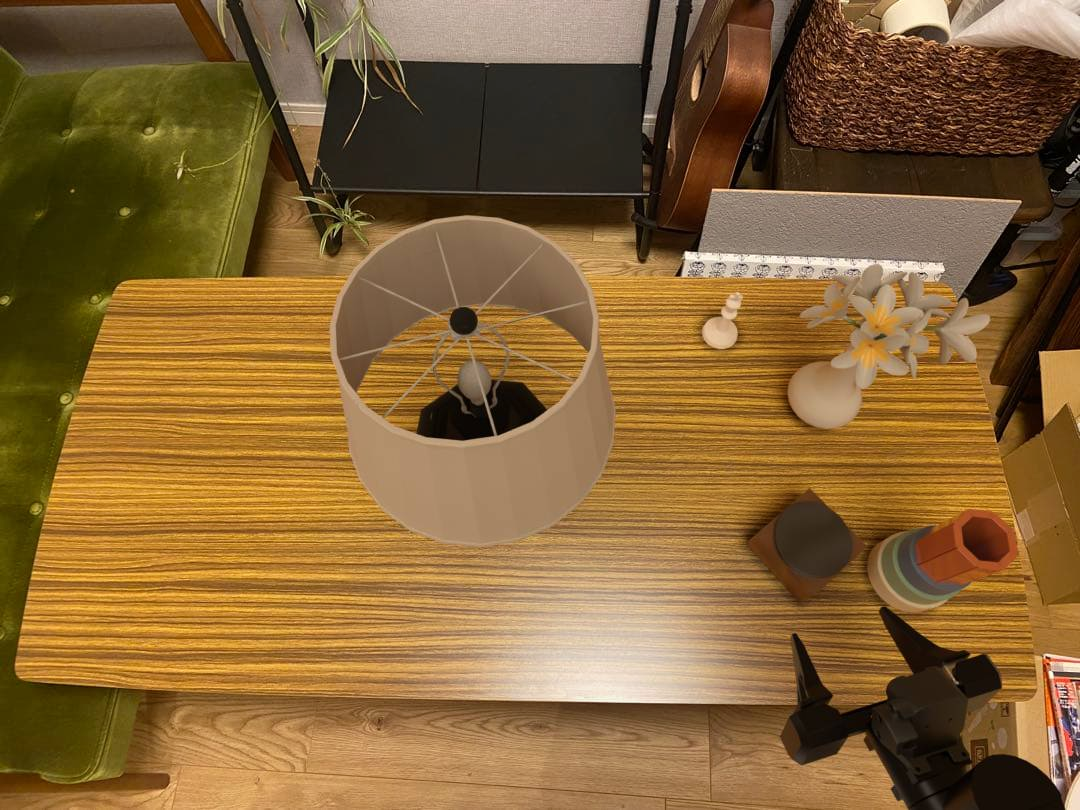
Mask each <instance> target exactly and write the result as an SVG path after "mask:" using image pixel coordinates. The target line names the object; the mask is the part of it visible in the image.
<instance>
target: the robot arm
mask: <svg viewBox="0 0 1080 810" xmlns="http://www.w3.org/2000/svg"><path fill="white" fill-rule="evenodd" d="M878 613H879V616H880V618H881V621H882V622H883V625H884V626H885V628H886V630H887V632H888V634H889V635H890V638H891V639H892V641H893V643H894V644H895V646H896V648H897V649H898V651H899V653H900V654H901V656H902V658H903V659H904V661H905V662H906V665H907V666H908V667H909V669H910V671H911V673H912V674H909V675H899V676H896V677H894V678H892V679H891V680H890V681H889V682H888V683H887V685H886V688H885V694H886V699H882V700H880V701H877V702H874V703H870V704H867V705H864V706H860V707H857V708H854V709H852V710H848V711H845V712H842V713H841V712H840V710H839V709H837V708H836V707H834V706H831V705H829V704H830V702H831V701H832V699H833V697H834V694H833V693H832V692H831V691H830V690H829V689H828V688H827V687H826V685H824V683H823V682H822V679H821V678H820V676H819V674H818V671H817V670H816V667H815V665H814V663H813V660H812V659H811V657H810V654H809V652H808V650H807V648H806V646H805V644H804V643H803V641H802V640H801V638H800V636H799V635H798V633H797V632H793V633H791V635H790V645H791V652H792V659H793V667H794V674H795V683H796V705H795V709H794V710H793V713H792V714H791V715H789V716H788V718H787V721H786V722H785V725H784V727H783V729H782V731H781V733H780V735H779V739H780V740H781V743H782V745H783V747H784V749H785V751H786V753H787V755H788V756H789V758H790V759H791V760H792V761H793V762H795V763H797V764H798V765H799V766H801V767H802V766H805V765H808V764H811V763H815V762H817V761H821V760H823V759H826V758H830V757H832V756H836V755H838V753H839V752H840V751H841V749H842V748H843V746H844V745H845V743H846V741H847V740H848V739H849V738H852V737H854V736H858V735H861V734H864V733H865V737H864V738H863V742H864V744H865V746H866V748H867V750H868V751H869V752H872V751H875V752H876V755H877V757H878V758H879V761H880V762H881V764H882V766H883V767H884V769H885V771H886V773H887V774H888V776H889V778H890V780H891V781H892V783H893V785H892V786H891V788H890V791H891V793H892V794H893V796H894V798H895V800H896V802H900V801H903V803H904V805H905V807H906V808H907V810H1066V805H1065V804H1064V800H1063V799H1062V797H1063V796H1062V795H1063V794H1062V793H1061V792H1060V789H1059V788H1058V786H1056V784H1055V783H1054V781H1052V779H1051V778H1050V777H1049V776H1048V775H1047V774H1046V773H1045V772H1044V771H1042V770H1041V769H1040V768H1039V767H1038V766H1036V765H1034V764H1033V763H1032V762H1029V761H1028V760H1026V759H1023V758H1021V757H1019V756H1016V755H1011V754H1006V753H997V754H991V755H988V756H986V757H984V758H983V759H981V760H980V761H978V762H977V763H976V764H975V765H974V766H973V767H971V768H970V766H972V765H973V764H974V762H973V760H972V759H971V757H970V756H971V755H970V753H969V751H968V749H967V748H966V746H965V745H964V742H963V739H962V735H961V733H962V732H963V731H964V729H965V726H966V719H967V713H971V712H973V711H976V710H979V709H981V708H984V707H985V706H986V705H987V704H988V703H989V702H990V701H991V700H992V699H994V697H995V696H996V695H997V694H998V693H999V692H1000V691H1001V690H1002V689H1003V678H1002V673H1001V670H1000V669H999V668H998V666H997V665H996V664H995V663H994V661H993V660H992V658H991V657H990V656H989V654H987V653H981V654H978V655H975V656H972V657H970V656H971V652H969V651H967V650H966V649H962V650H952V649H949V648H945V647H941V646H939V645H937V644H936V643H934V642H933V641H931V639H928V638H927V637H925V636H924V635H923V634H921V633H920V632H918V630H917V629H915V628H914V627H912V626H911V625H910V624H908V623H907V622H906V621H905V620H904V619H902V618H901V617H900V616H898V614H896V612H893V610H891V609H890V608H888V607H887V606H886V605H885V606H883V605H882V606H881V607H880V608H879V609H878ZM968 768H970V769H968Z"/></svg>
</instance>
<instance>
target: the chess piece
mask: <svg viewBox="0 0 1080 810" xmlns="http://www.w3.org/2000/svg"><path fill="white" fill-rule="evenodd" d="M743 299H744V295H743V294H740V292H739V291H735V294H729V296H728V297H726V299H725V305H724V306H723V307H722V308H721V310H720V314H721V316H715V317H711V318H709V319H708V320H707V321H706V322H705V323H704V325H703V326H702V328H701V329H702V330H701V336H702V338H703V340H704V341H705V343H706V344H707V345H708V346H710V347H712V348H714V349H719V350H724V349H728V348H731V347H732V346H734V344H735V343H736V342H737V340H738V336H739V332H738V331H739V330H738V328H737V325H736V324H735V322H733V321H732V320H734V319H735V318H736V317H737V315H738V310H739V309H740V308H741V306H742V301H743Z"/></svg>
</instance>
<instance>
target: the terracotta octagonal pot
mask: <svg viewBox="0 0 1080 810" xmlns="http://www.w3.org/2000/svg"><path fill="white" fill-rule="evenodd" d="M936 525H937V526H935V527H933V528H931V529H929V530H928V531H927V532H926V533H925V534H923V535H922V536H921V537H920V538H919V539H918V540H917V541H916V544H915V550H916V560H917V564H918V567H919V568H920V569H921V570H922V571H923V572H924V573H925V574H926V575H927V576H928V577H929V578H930V579H931V580H932V581H933V582H934V583H935V582H936V583H937V584H944V585H953V586H960V585H963V584H966V583H968V582H971V581H972V582H974V581H976V580H980V579H982V578H986V577H988V576H991V575H994V574H996V573H1000V572H1002V571H1005V570H1006V569H1007V568H1008V566H1010V565H1011V564H1012V563H1013V562H1014V561H1015V560H1016V559H1017V558H1018V554H1019V550H1018V544H1017V538H1016V532H1015V531H1014V528H1013V527H1012V526H1010V525H1009V524H1008V522H1006V521H1005V520H1004V519H1003V518H1002V517H1000V515H998V513H996V512H994V511H992V510H986V509H985V510H983V509H974V508H969V509H965V510H963V511H962V512H959V513H957V514H956V515H954V516H952V517H950V518H949V519H947V520H945V521H943V522H941V523H939V524H936ZM972 582H971V583H972Z"/></svg>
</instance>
